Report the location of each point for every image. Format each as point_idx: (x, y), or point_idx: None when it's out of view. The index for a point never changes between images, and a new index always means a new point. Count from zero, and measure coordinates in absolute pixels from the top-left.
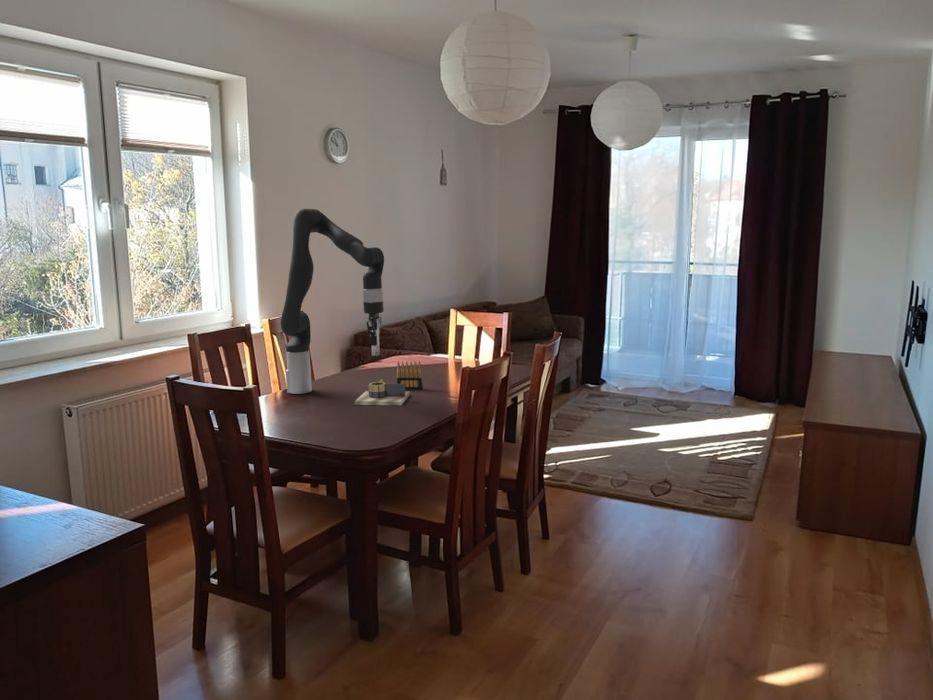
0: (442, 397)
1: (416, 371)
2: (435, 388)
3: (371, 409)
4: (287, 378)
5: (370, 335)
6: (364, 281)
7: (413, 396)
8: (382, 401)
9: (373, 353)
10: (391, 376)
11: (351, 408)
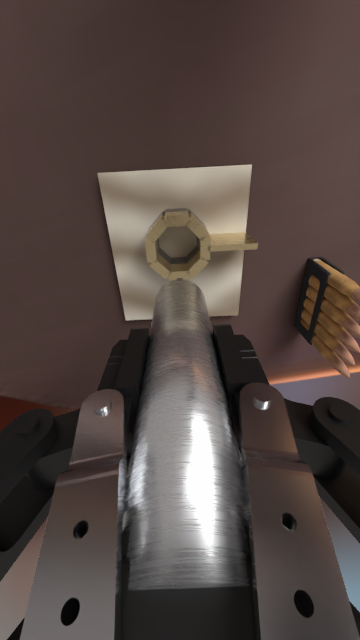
0: None
1: (326, 344)
2: (303, 351)
3: (68, 249)
4: None
5: (90, 401)
6: None
7: (222, 321)
8: (116, 272)
9: (155, 301)
10: None
11: (56, 175)
